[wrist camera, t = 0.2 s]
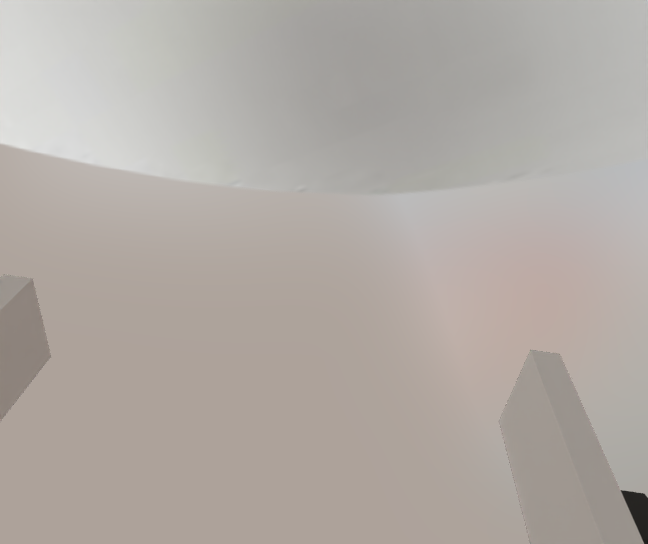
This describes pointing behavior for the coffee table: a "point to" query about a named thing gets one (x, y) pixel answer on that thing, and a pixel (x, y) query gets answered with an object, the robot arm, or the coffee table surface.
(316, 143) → the coffee table surface
